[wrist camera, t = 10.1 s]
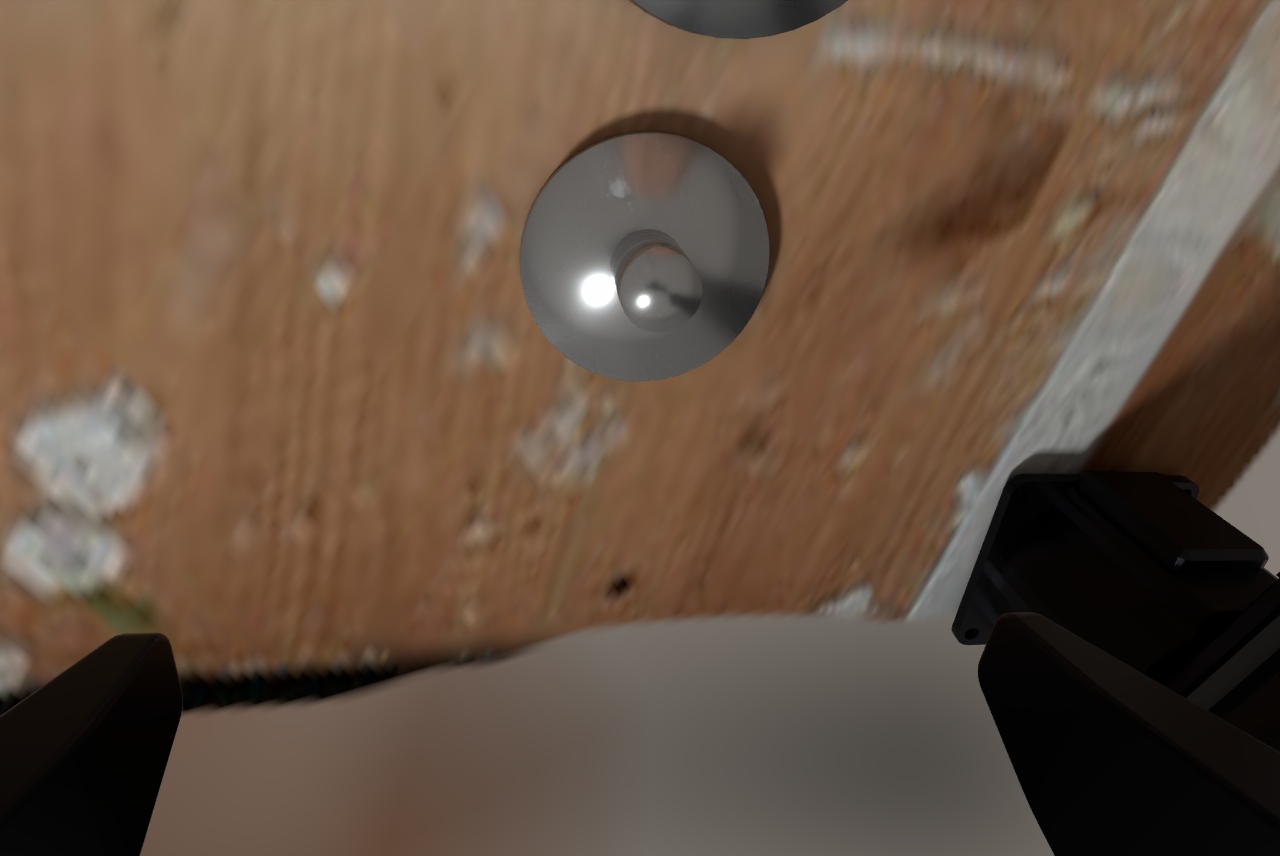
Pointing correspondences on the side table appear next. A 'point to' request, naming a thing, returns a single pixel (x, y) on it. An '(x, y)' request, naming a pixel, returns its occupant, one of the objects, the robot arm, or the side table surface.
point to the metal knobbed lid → (644, 256)
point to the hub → (738, 15)
